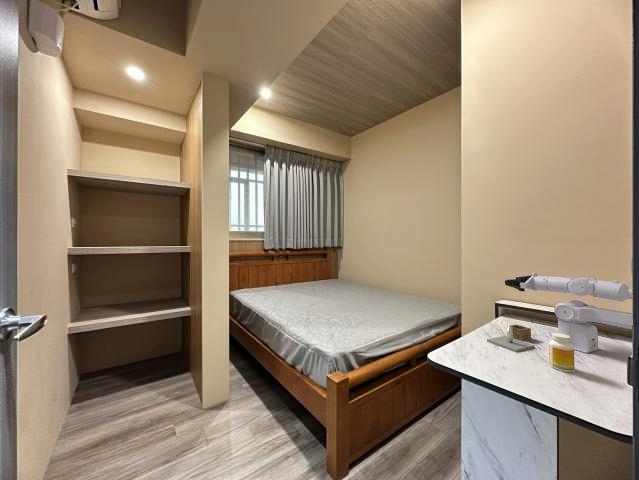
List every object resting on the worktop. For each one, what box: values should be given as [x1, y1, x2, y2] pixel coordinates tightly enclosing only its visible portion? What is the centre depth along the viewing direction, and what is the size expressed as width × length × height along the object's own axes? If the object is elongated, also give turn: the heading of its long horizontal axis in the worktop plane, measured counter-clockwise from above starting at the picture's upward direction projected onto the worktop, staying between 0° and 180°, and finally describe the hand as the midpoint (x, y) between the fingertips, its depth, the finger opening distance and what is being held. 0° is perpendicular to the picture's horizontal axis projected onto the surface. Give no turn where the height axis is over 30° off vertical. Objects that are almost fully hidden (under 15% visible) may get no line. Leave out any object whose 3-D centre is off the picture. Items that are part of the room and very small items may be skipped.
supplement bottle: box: [548, 332, 576, 373], centre depth 74 cm, size 5×5×10 cm
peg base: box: [486, 325, 536, 353], centre depth 92 cm, size 10×10×7 cm
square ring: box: [506, 324, 532, 342], centre depth 98 cm, size 5×5×4 cm
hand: (510, 281), depth 108 cm, fingers open, 7 cm apart
